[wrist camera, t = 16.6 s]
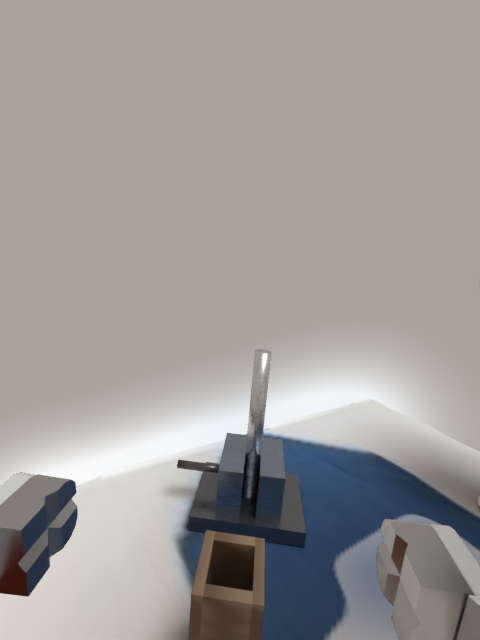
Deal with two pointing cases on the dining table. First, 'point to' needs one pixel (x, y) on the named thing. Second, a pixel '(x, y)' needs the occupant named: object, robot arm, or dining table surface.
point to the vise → (250, 480)
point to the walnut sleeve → (228, 588)
